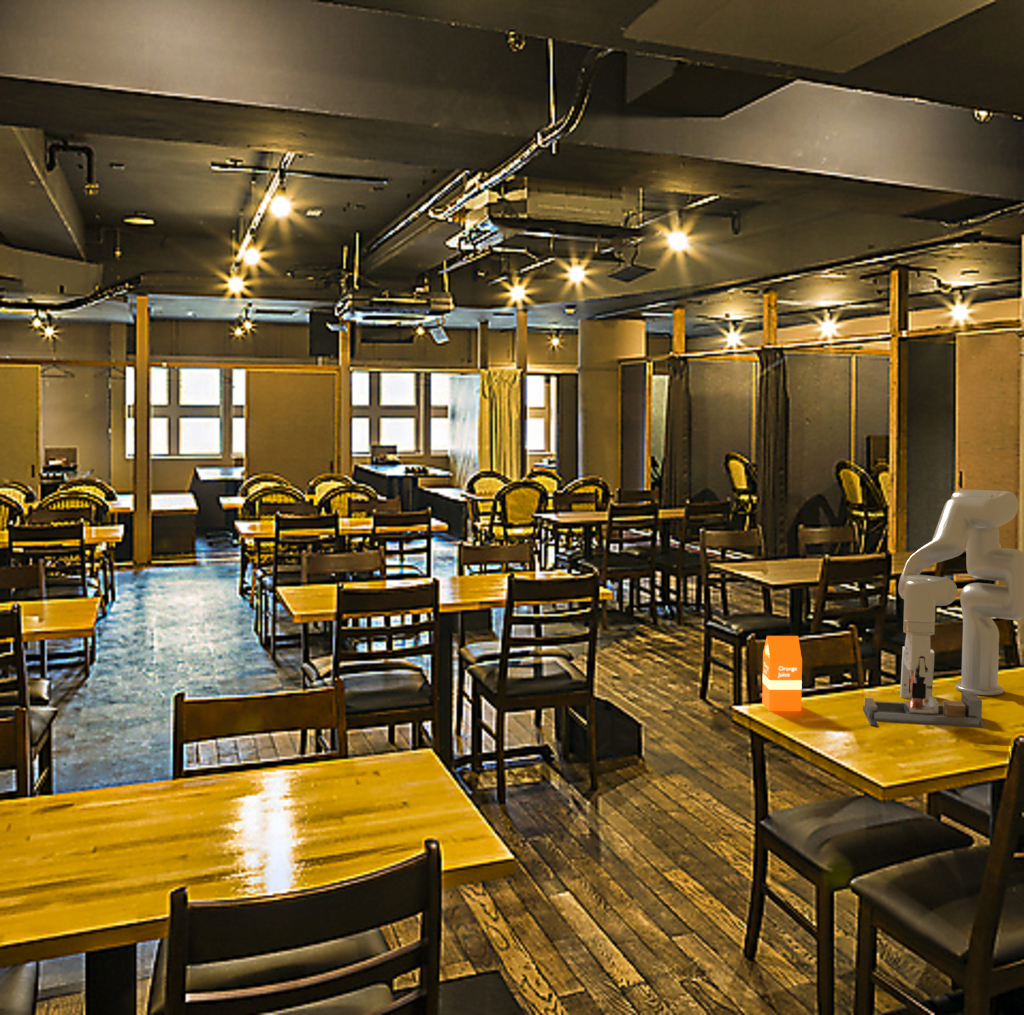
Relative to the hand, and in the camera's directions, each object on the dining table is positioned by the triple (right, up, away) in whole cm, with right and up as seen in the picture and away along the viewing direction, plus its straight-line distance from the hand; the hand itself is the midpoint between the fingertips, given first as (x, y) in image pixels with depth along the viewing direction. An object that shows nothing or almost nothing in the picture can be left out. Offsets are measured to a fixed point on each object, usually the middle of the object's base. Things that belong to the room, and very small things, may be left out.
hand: (917, 695), depth 242 cm
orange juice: (-32, -6, +14) cm, 35 cm away
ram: (+1, -5, 0) cm, 5 cm away
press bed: (+2, -7, 0) cm, 7 cm away
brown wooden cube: (+9, -6, -2) cm, 11 cm away
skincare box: (+8, -6, +19) cm, 21 cm away
